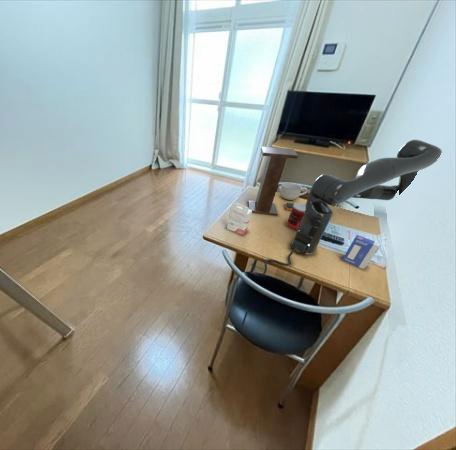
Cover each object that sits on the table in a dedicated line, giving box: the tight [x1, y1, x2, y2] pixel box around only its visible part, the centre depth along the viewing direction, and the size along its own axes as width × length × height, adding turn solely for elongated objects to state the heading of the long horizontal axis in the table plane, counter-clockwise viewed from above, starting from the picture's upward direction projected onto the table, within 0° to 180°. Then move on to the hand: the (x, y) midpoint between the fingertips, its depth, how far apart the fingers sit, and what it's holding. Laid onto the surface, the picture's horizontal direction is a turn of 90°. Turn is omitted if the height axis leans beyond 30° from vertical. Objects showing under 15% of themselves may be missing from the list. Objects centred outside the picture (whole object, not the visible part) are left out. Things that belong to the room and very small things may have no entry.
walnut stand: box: [247, 146, 299, 217], centre depth 127 cm, size 15×12×32 cm
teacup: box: [279, 181, 308, 201], centre depth 144 cm, size 14×11×8 cm
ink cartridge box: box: [226, 201, 252, 236], centre depth 115 cm, size 9×5×15 cm, turn 47°
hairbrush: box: [284, 202, 295, 211], centre depth 134 cm, size 22×5×2 cm, turn 76°
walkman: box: [341, 234, 382, 270], centre depth 97 cm, size 8×3×12 cm, turn 45°
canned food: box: [286, 202, 306, 231], centre depth 119 cm, size 8×8×11 cm
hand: (332, 187), depth 125 cm, fingers open, 8 cm apart
